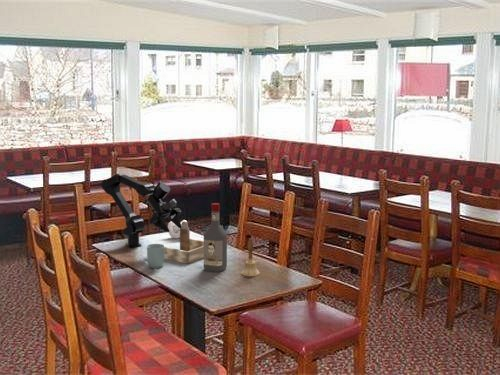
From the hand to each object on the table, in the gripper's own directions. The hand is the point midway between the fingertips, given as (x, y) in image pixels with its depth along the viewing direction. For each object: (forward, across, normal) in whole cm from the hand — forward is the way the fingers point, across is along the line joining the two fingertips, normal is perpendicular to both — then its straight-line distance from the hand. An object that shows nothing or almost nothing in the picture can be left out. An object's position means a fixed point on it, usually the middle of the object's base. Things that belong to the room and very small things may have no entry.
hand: (175, 229), depth 299 cm
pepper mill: (+12, 0, +4) cm, 13 cm away
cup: (+13, -21, +4) cm, 26 cm away
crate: (+14, 0, +3) cm, 15 cm away
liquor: (+30, -8, -12) cm, 33 cm away
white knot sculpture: (-5, +28, +23) cm, 36 cm away
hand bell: (+42, -4, -24) cm, 48 cm away
